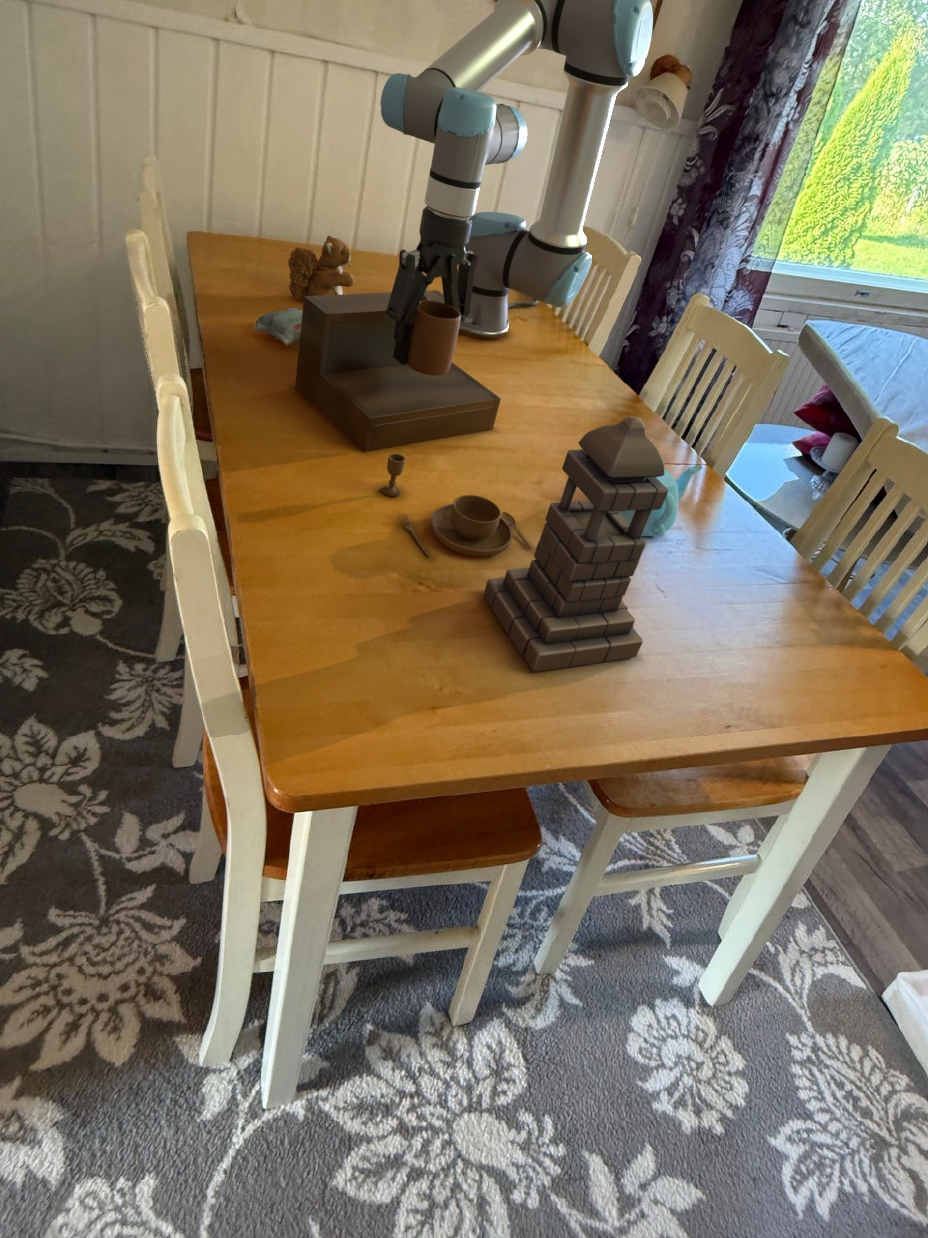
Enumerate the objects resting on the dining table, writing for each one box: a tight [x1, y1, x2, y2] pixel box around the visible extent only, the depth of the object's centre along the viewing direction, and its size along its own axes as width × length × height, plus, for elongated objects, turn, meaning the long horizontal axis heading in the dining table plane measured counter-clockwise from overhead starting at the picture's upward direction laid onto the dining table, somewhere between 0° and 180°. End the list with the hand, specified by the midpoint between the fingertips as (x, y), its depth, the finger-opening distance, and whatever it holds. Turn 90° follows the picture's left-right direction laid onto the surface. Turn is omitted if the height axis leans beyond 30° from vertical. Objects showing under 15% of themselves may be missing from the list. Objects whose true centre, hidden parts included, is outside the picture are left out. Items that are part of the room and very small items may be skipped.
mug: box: [407, 295, 461, 375], centre depth 137 cm, size 12×8×9 cm, turn 23°
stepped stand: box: [294, 289, 502, 453], centre depth 144 cm, size 22×27×16 cm
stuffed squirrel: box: [287, 235, 355, 303], centre depth 175 cm, size 10×14×13 cm
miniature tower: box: [482, 416, 668, 672], centre depth 102 cm, size 16×15×30 cm
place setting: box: [381, 452, 532, 558], centre depth 123 cm, size 18×20×6 cm
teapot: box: [619, 465, 703, 538], centre depth 133 cm, size 13×14×11 cm
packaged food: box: [254, 307, 303, 346], centre depth 160 cm, size 9×12×5 cm
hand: (420, 358), depth 139 cm, fingers closed on mug, 7 cm apart
